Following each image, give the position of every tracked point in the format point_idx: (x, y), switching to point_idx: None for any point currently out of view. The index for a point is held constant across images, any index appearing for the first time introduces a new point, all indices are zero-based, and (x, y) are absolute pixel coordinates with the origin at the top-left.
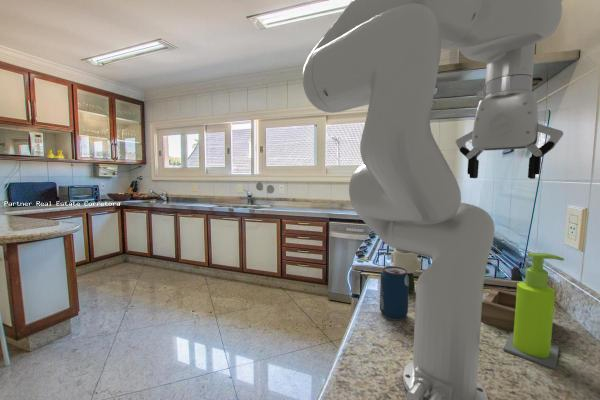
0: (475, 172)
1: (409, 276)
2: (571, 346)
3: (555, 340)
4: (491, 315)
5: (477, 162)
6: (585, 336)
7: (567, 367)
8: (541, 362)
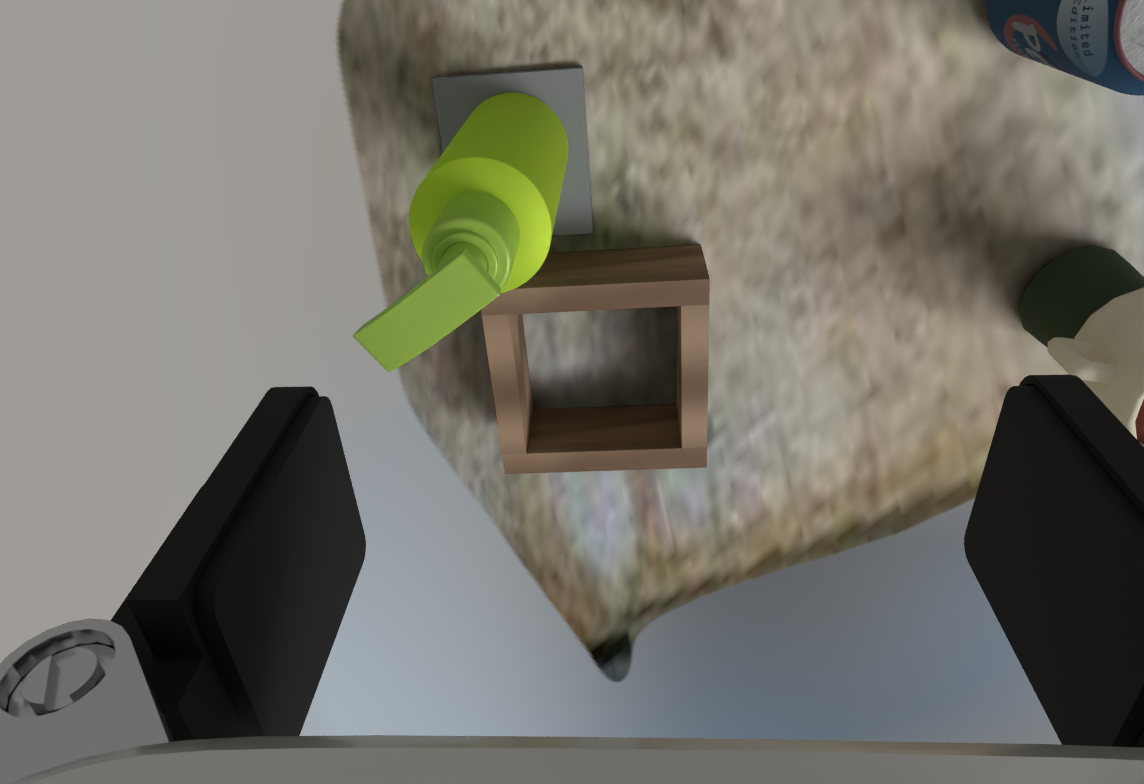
0: (1023, 501)
1: (1086, 316)
2: None
3: None
4: (667, 261)
5: (1088, 702)
6: (424, 397)
7: (414, 128)
8: (469, 75)
